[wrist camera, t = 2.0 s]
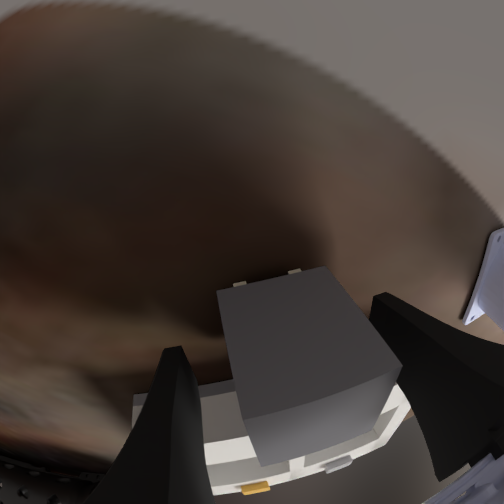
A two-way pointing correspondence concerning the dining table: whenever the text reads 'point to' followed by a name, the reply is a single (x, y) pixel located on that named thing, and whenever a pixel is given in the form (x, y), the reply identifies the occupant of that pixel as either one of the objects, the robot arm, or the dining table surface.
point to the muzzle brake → (42, 484)
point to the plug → (304, 363)
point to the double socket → (242, 452)
